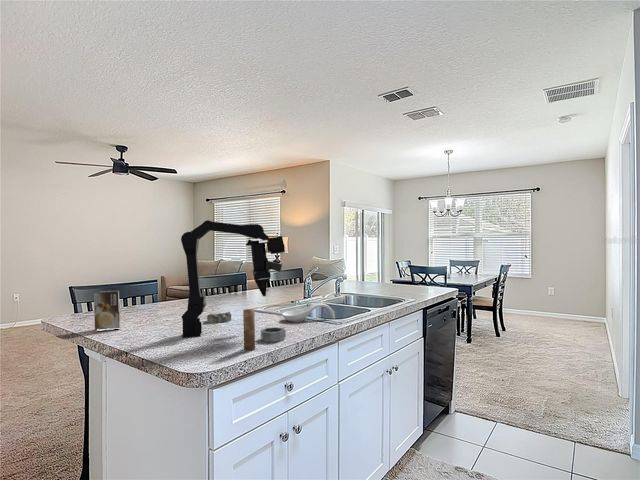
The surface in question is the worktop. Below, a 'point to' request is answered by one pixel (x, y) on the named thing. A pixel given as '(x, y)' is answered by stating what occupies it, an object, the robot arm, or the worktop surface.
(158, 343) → the worktop surface
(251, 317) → the dowel
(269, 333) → the ring
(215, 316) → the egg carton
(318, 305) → the spoon rest
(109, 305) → the coffee box
